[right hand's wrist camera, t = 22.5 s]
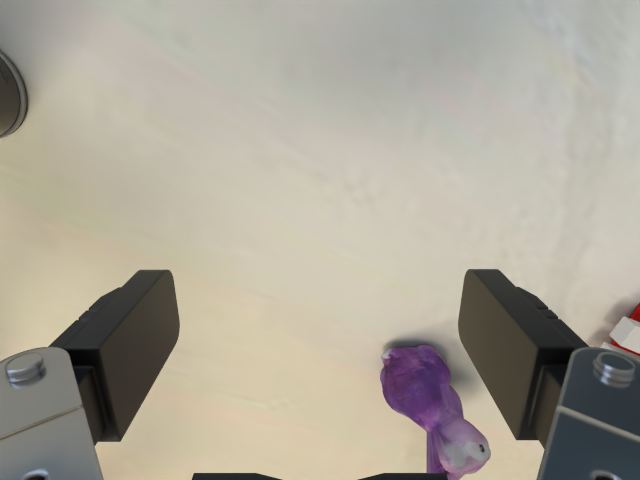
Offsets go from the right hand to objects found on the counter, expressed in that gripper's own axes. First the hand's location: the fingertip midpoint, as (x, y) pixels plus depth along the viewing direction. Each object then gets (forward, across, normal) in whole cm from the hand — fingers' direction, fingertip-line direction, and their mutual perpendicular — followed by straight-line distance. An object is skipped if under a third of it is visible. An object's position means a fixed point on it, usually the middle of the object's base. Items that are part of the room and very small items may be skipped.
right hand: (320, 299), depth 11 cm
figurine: (+32, +13, -28) cm, 44 cm away
